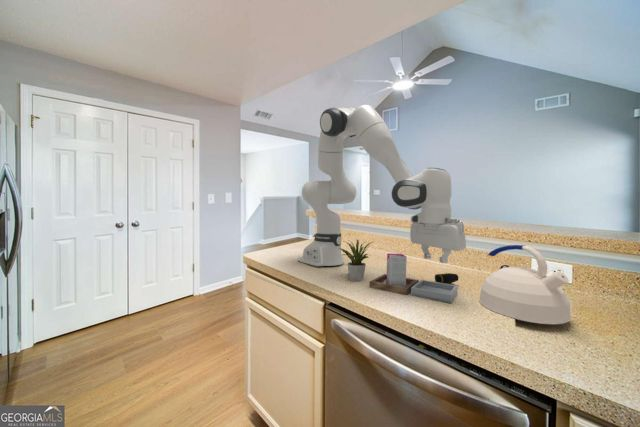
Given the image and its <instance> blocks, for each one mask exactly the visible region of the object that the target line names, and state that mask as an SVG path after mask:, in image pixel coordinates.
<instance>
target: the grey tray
mask: <svg viewBox="0 0 640 427" xmlns="http://www.w3.org/2000/svg"><path fill="white" fill-rule="evenodd" d="M458 289H459V288H458V285H456V284H451V283H448V284H444V283H438V282H436V281H432V280H431V281H430V280H425V279H420V280H419V282H418V283H416V284H415V285H414V286H412V287H411V292H410V296H413V297H418V298H422V299H426V300H432V301H437V302H442V303H447V304H452V302H453V301H454V300H455V298H456V296H457V294H458Z"/></svg>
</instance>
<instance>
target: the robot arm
mask: <svg viewBox="0 0 640 427" xmlns="http://www.w3.org/2000/svg"><path fill="white" fill-rule="evenodd" d="M320 115H321V116H320V119H319V127H320V134H319V139H318V148H317V150H318V151H317V152H318V156H317V167H318V170H320V171H321V172H322V173H324V174H326V175H328V176H329V177H330V178H331V179H330V180H311V181H307V182H305V183H304V184H303V186H302V189H301V197H302V198H303V199H302V200H304V201H305V202H306V203H307V204H308V205H309V206H310V207H311V209H312V210H313V211H314V213H315V217H316V233H314V234H313V235H312V238H314V239H313V241H312V242H311V243H309V244H308V245H307V246H305V247H304V249H303V251H302V257H299V258H298V259H297V262H299V261H300V262H299V263H302V264H303V263H304V264H307V265H311V266H314V267H324V266H326V267H327V266H329V267H331V266H332V267H333V266H340V265H344V260H343V255H342V254H343V253H342V250H340V249H339V248H342V233H341V216H340V215H339V214H338V213H336V212H335V211H334V210H333V211H332V210H330V209H329V208H328V205H335V204H336V205H345V204H349V203H350V204H351V203H353V202H354V201H355V199H356V197H357V187H356V185H355V183H353V182H352V181H351V180H349V178H348V177H347V175H346V173H345V170H344V142H345V140H346V138H347V137H350V138H352V137H356V138H357V140H358V142H359V143H360V145H361V147H362V148H363V150H364V151H365V152H366V153H367V154H368V155H369V156H370V157H371V158H373V159H374V160H376V161H377V162H378V163H380V164H381V165H382V166H383V167H384V168H385V169H386V171H388V173H389V174H390V176H391V178H392V179H393V180H394V183H395V184H394V185H393V187H392V189H391V198H392V201H393V202H394V203H395V205H397V206H399V207H401V208H405V209H408V210H414V211H415V210H419V209H420V210H421V212H419V213H416V214H414V215H412V216H410V223H411V225H410V230H409V231H410V232H409V233H410V234H409V236H410V242H411V243H412V244H416V245H420V246H421V251H422V253H423V258H424V259H426V260H431V259H432V253H430V250H429V248H430V247H432V248H438V249H441V252H442V255H441V256H439V263H441V264H447V263H448V258H449V256H450V255H451V253H452V252H453V251H454V252H461V251H464V250H465V249H466V247H467V238H466V233H465V232H466V231H465V225H464V223H463V221H461V220H460V219H458V218H454V219H453V218H452V206H451V199H452V198H451V197H452V180H451V174H450V172H448V171H447V170H446V169H443V168H440V167H426V168H424V169H423V170H422V171H421V172H419V173H416V174H415V175H413V174H411V172H410V171H409V169H408V166H406V164H405V162H404V161H403V159H402V158H401V156H400V153H399V151H398V148H397V146H396V143H395V140H394V137H393V135H392V133H391V131H390V129H389V128H388V125H387V124H386V122H385V121H384V119H383V118H382V116H381V115H380V114H379V113H378V112H377V110H376V109H375V108H374V107H373V106H371V105H369V104H361V105H359V106H358V107H350V106H345V107H330V108H329V107H328V108H327V109H325V110H323V112H321V114H320Z"/></svg>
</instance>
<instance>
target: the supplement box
mask: <svg viewBox="0 0 640 427" xmlns="http://www.w3.org/2000/svg"><path fill="white" fill-rule="evenodd" d="M386 255H387V256H386V257H387V258H386V274H387V277H386V280H385V281H386V283H385V284H390V285H395V286H400V287H406V286H407V284H406V278H407V256H406V255H405V254H403V253H387V254H386Z"/></svg>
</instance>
